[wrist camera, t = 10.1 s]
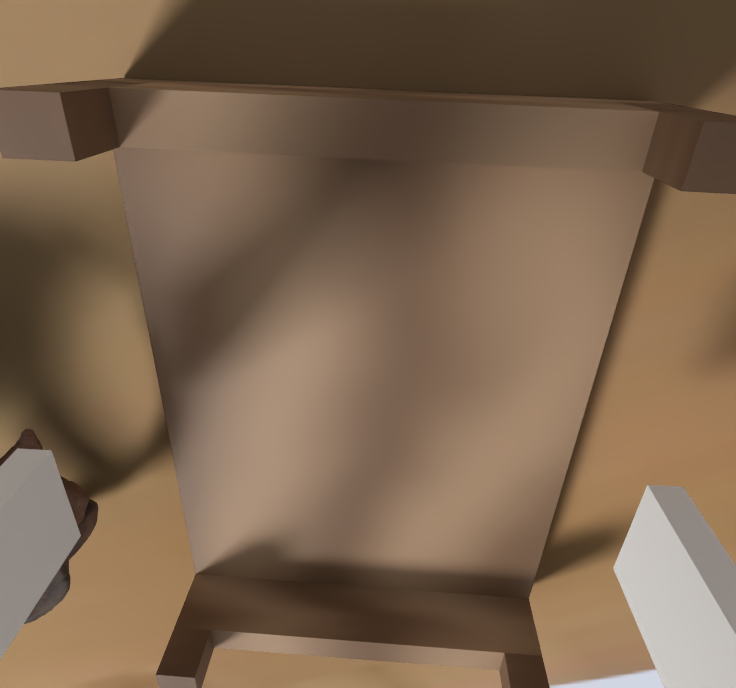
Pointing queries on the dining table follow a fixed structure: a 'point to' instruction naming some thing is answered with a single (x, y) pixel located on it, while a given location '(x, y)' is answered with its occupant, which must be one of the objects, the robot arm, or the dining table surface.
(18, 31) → the dining table surface
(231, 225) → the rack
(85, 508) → the pottery mug
